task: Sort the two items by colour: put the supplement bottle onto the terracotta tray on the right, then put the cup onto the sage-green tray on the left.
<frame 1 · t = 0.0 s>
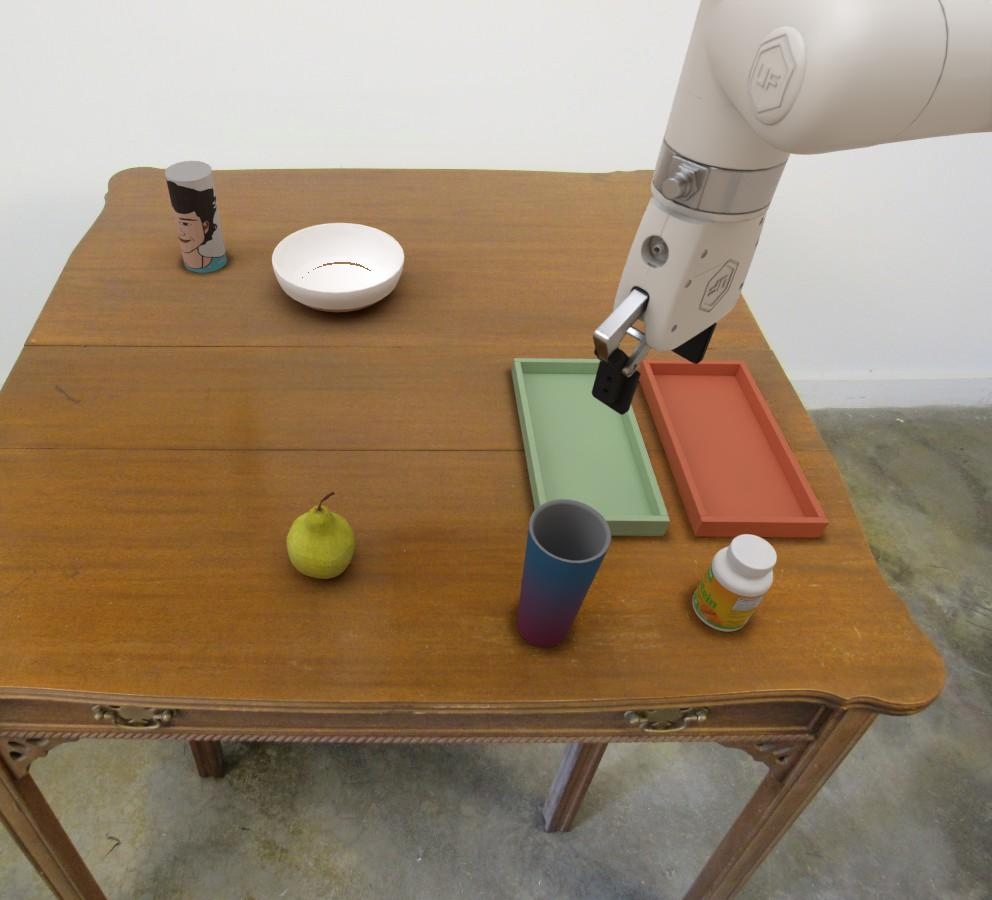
hand: (647, 378, 60), 25 cm above the table, tool pointing down, fingers open, 9 cm apart
sage tray: (579, 445, 90), on the table
bowl: (340, 292, 113), on the table
fruit: (323, 565, 77), on the table
terracotta tray: (718, 447, 90), on the table
supplement bottle: (718, 610, 74), on the table
cup: (541, 626, 73), on the table
cup 2: (205, 262, 119), on the table
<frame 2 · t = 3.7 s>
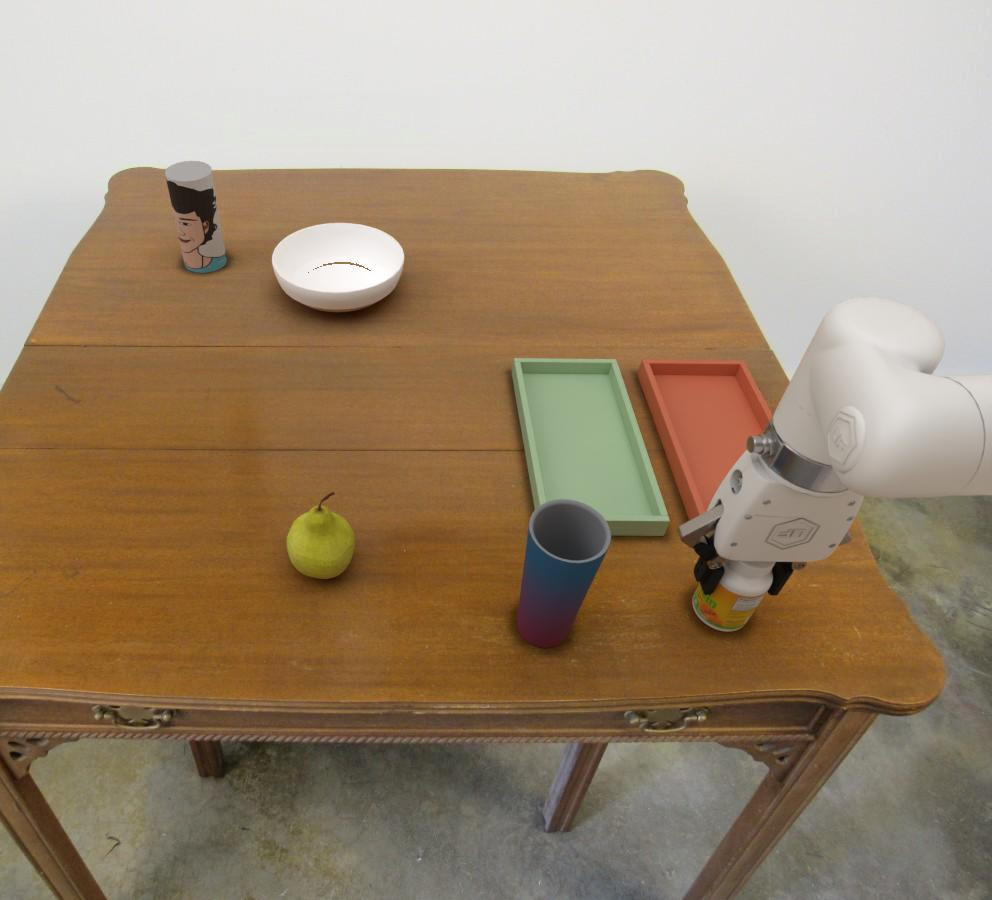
hand: (735, 581, 70), 5 cm above the table, tool pointing down, fingers closed on supplement bottle, 5 cm apart
supplement bottle: (718, 610, 74), on the table, touching gripper
everything else where it was.
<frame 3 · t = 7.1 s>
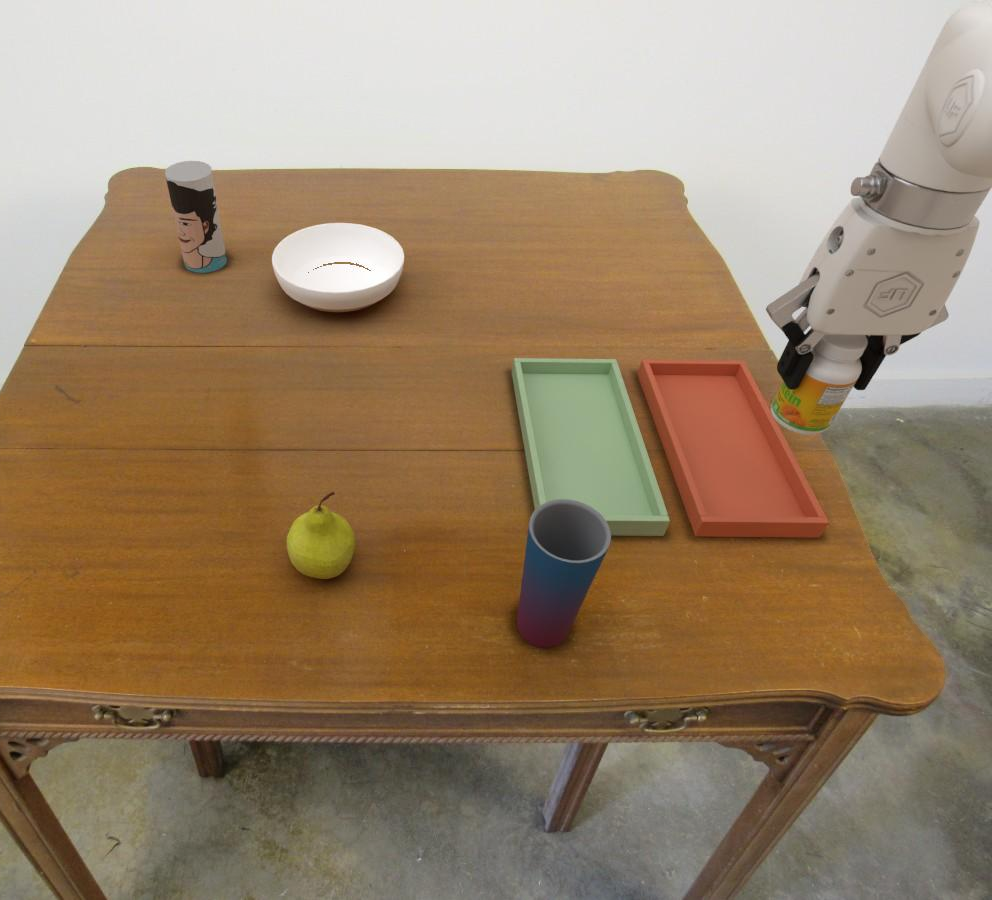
hand: (820, 378, 68), 20 cm above the table, tool pointing down, fingers closed on supplement bottle, 5 cm apart
supplement bottle: (797, 418, 72), point 15 cm above the table, touching gripper
everything else where it was.
when the fingers open (5 cm above the table, at t = 10.7 s): supplement bottle stays where it is, resting on terracotta tray.
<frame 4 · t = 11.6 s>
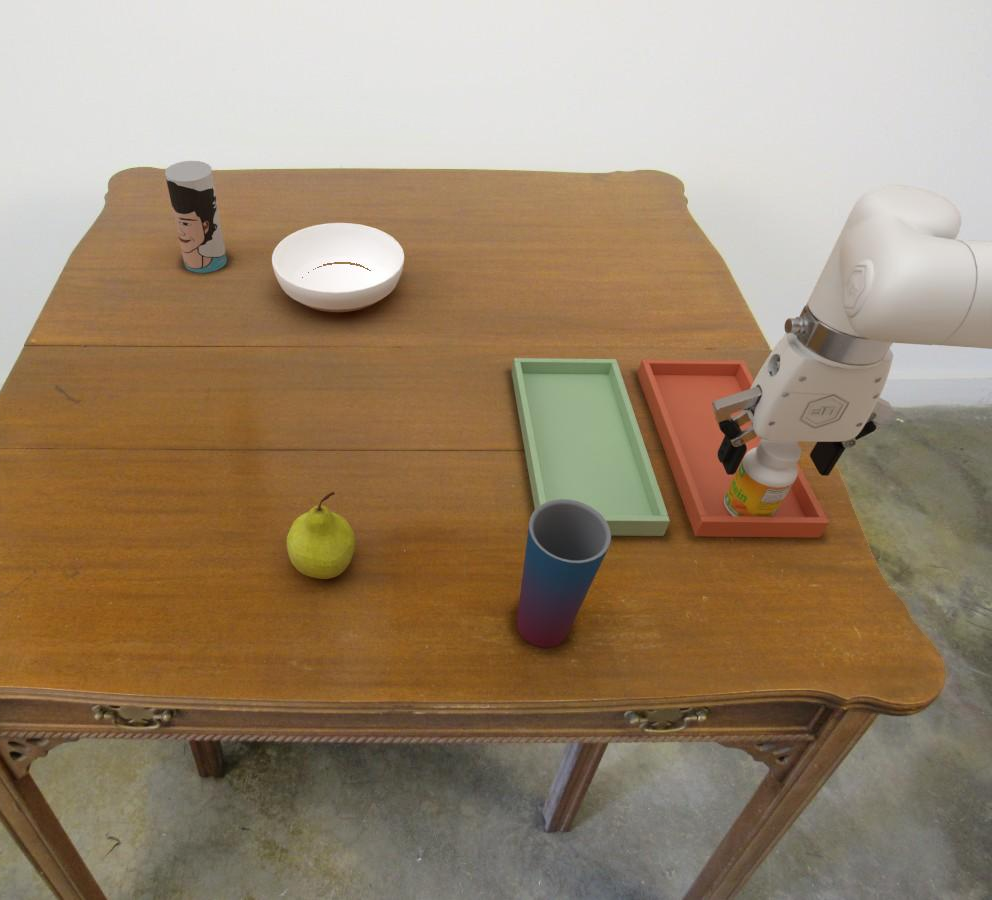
hand: (772, 465, 77), 8 cm above the table, tool pointing down, fingers open, 9 cm apart
supplement bottle: (747, 508, 83), resting on terracotta tray
everything else where it was.
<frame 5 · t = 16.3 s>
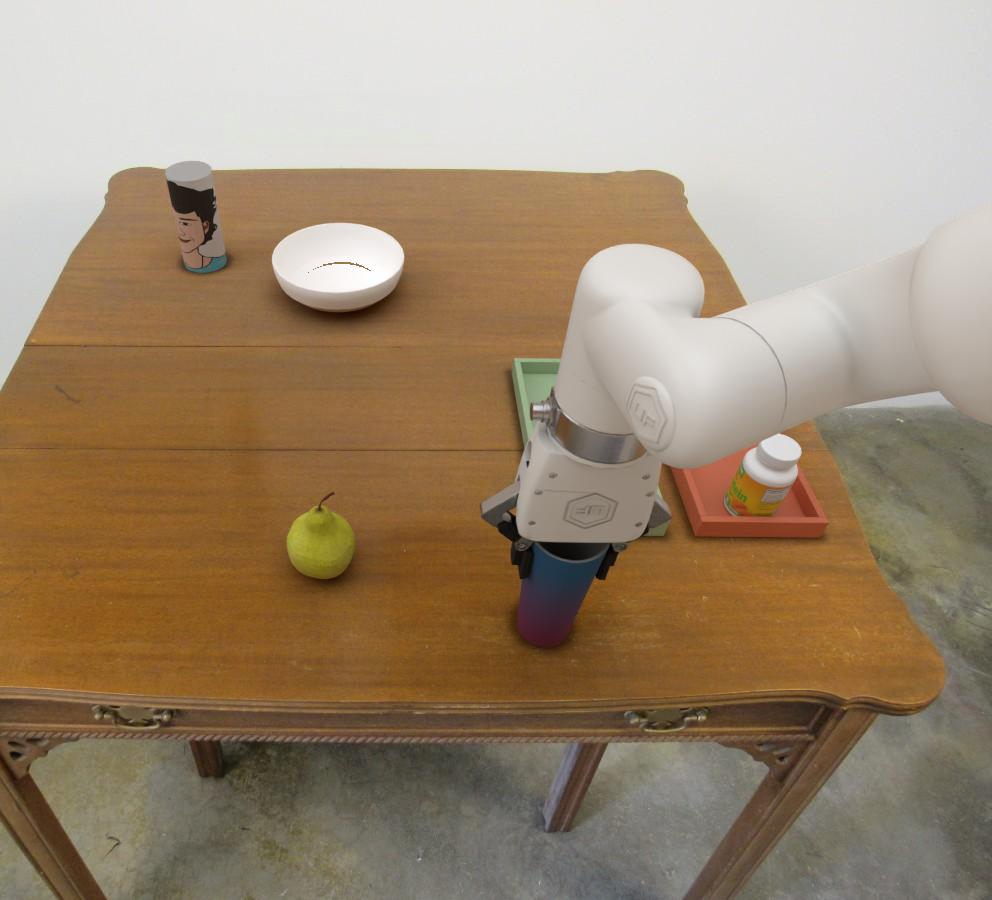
hand: (559, 565, 65), 10 cm above the table, tool pointing down, fingers closed on cup, 6 cm apart
cup: (541, 626, 73), on the table, touching gripper
everything else where it was.
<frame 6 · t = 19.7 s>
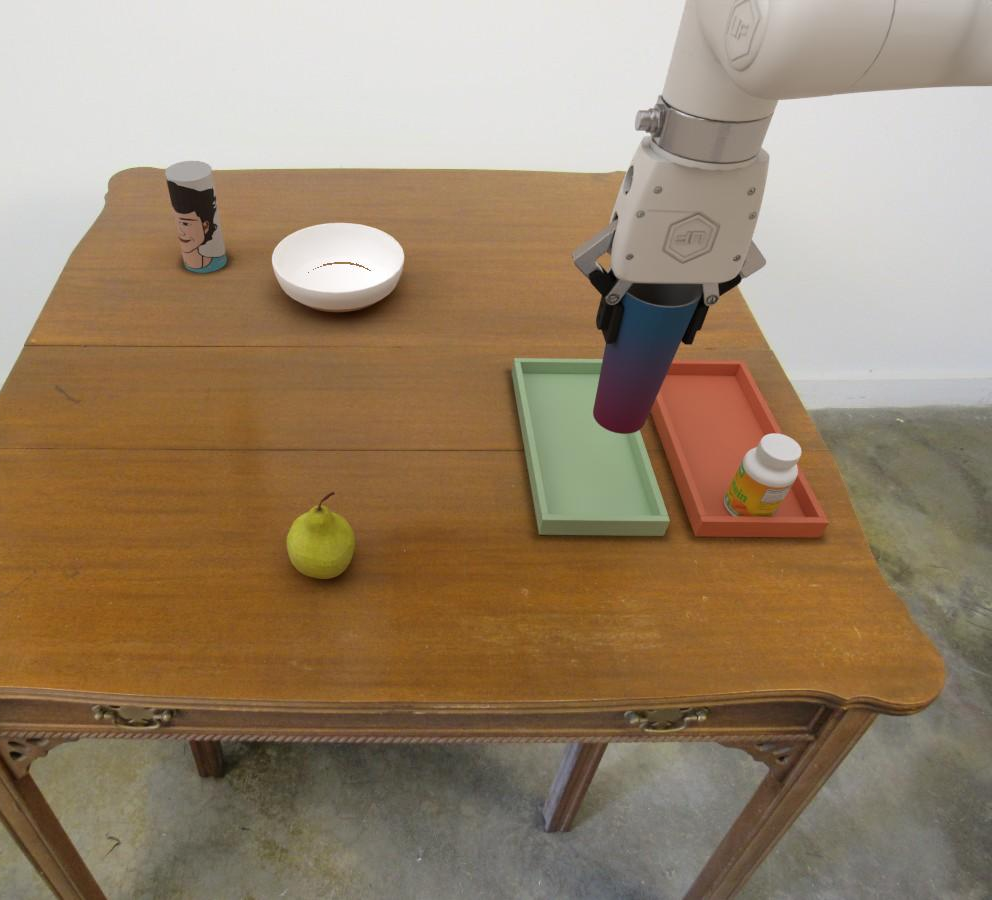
hand: (645, 333, 65), 25 cm above the table, tool pointing down, fingers closed on cup, 6 cm apart
cup: (618, 417, 72), point 14 cm above the table, touching gripper
everything else where it was.
when the fingers open (11 cm above the table, at t = 23.3 s): cup stays where it is, resting on sage tray.
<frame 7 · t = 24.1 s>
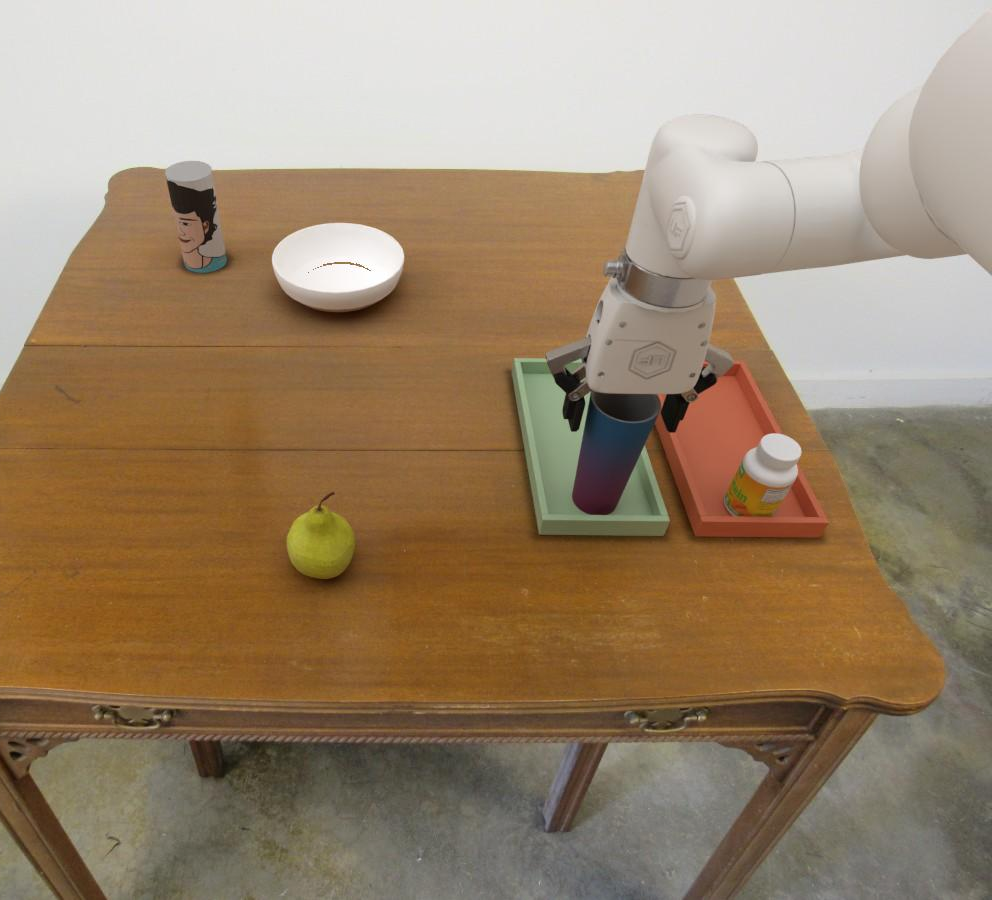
hand: (619, 422, 75), 13 cm above the table, tool pointing down, fingers open, 9 cm apart
cup: (594, 500, 83), resting on sage tray
everything else where it was.
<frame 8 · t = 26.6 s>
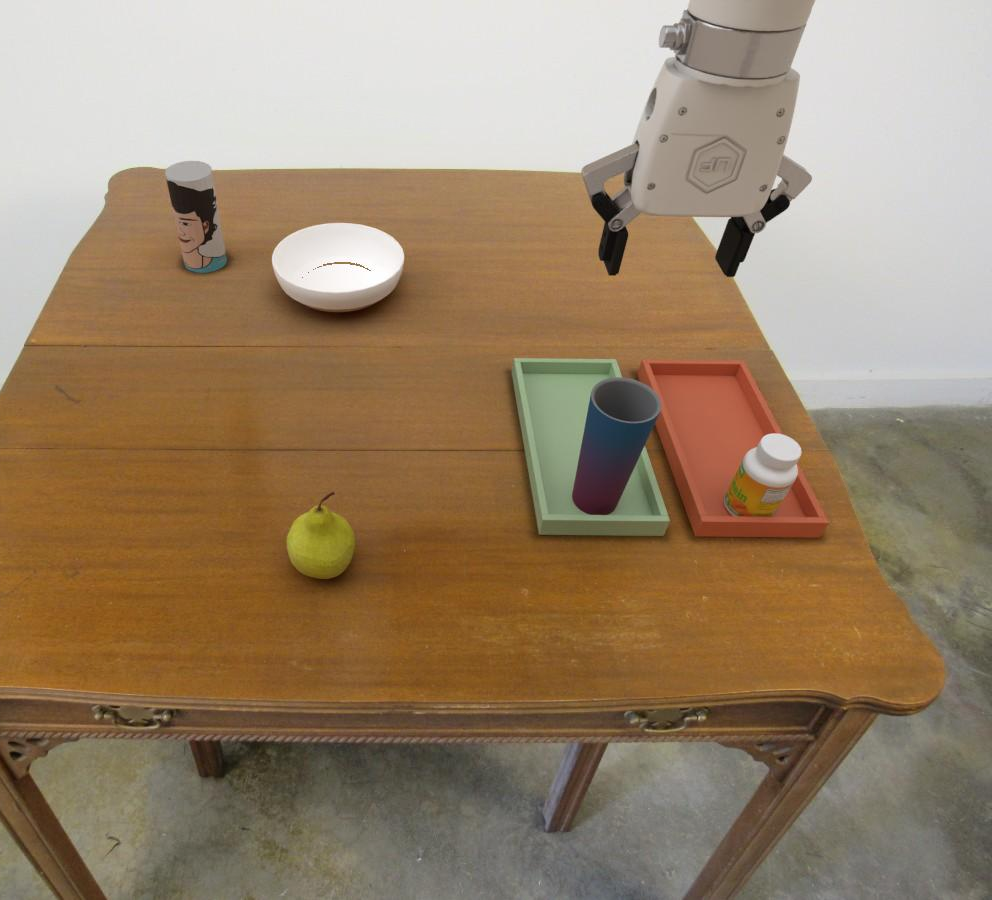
hand: (666, 267, 62), 30 cm above the table, tool pointing down, fingers open, 9 cm apart
nothing on the table moved.
at the end: supplement bottle inside the target area in the terracotta tray (10.1 cm from its centre), point 0.4 cm above the terracotta tray's base; cup inside the target area in the sage tray (9.1 cm from its centre), point 0.4 cm above the sage tray's base; cup tilted 0° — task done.
